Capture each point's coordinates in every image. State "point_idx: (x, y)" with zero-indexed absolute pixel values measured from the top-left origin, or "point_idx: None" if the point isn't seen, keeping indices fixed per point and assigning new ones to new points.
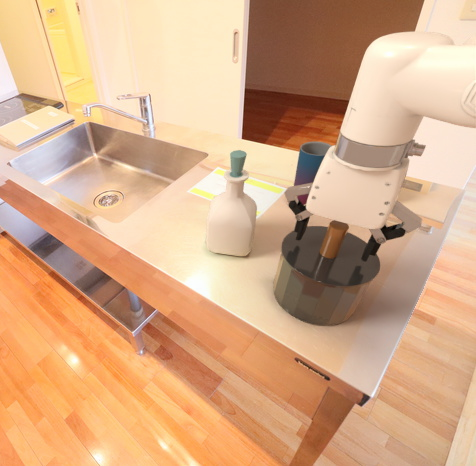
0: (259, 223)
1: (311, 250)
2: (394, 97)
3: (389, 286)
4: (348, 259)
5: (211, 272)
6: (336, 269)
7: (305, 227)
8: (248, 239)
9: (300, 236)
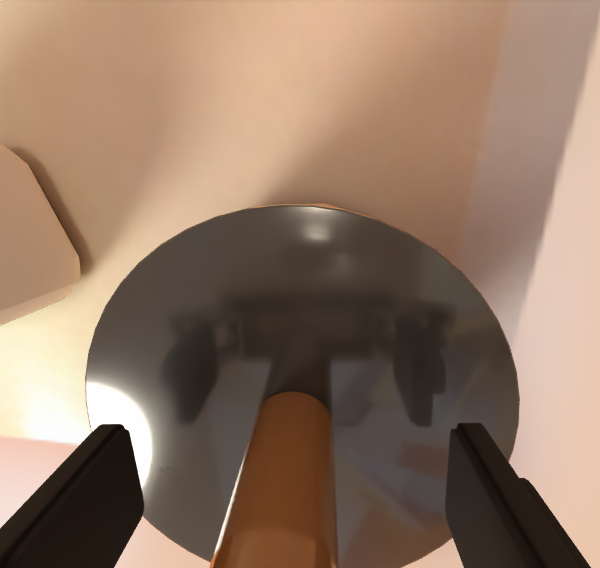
0: (10, 51)
1: (225, 441)
2: None
3: (498, 145)
4: (383, 424)
5: (54, 377)
6: (353, 503)
7: (97, 522)
8: (15, 307)
9: (124, 541)
